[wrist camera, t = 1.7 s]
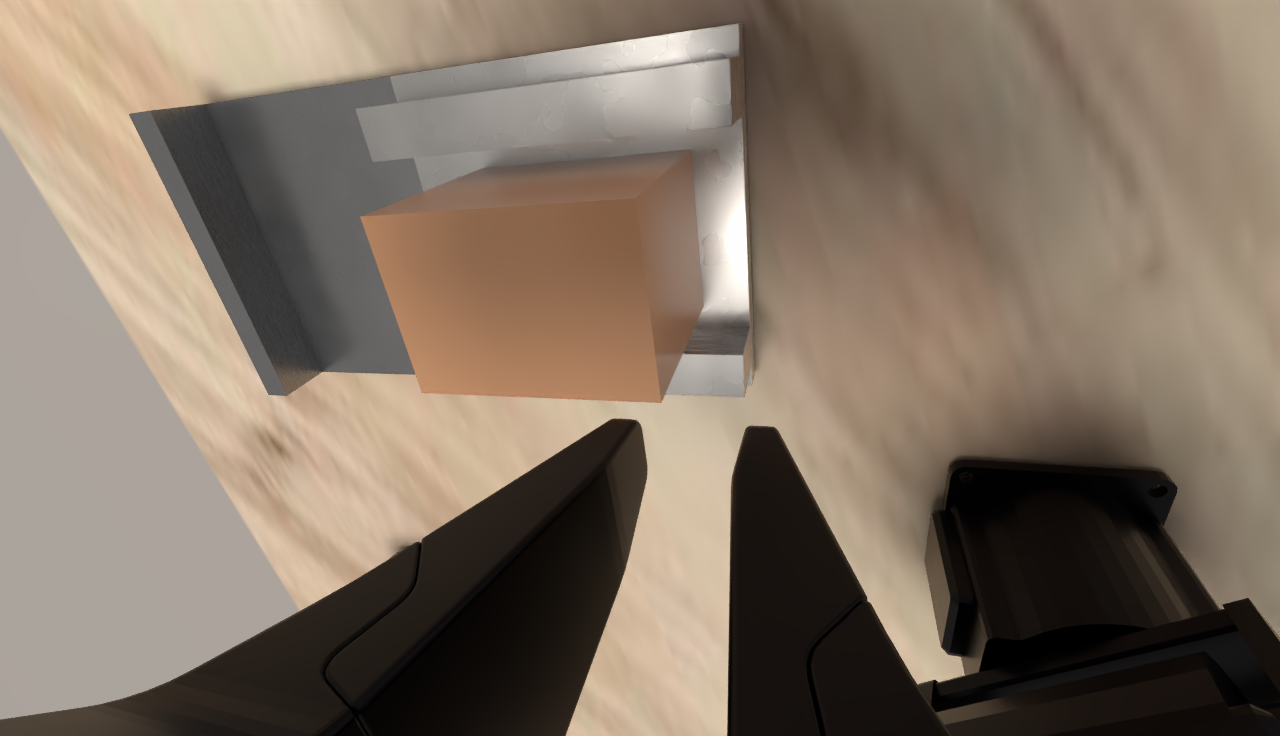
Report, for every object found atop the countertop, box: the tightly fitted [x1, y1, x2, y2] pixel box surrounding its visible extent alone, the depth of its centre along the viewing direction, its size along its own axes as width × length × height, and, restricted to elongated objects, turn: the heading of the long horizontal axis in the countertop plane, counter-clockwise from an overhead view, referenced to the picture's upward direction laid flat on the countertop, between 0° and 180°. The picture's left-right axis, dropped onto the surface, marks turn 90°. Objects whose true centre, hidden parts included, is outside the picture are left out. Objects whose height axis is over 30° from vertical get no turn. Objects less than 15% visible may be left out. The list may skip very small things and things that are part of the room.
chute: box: [129, 23, 755, 397], centre depth 20 cm, size 20×11×3 cm, turn 98°
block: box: [360, 149, 704, 403], centre depth 17 cm, size 7×5×6 cm
